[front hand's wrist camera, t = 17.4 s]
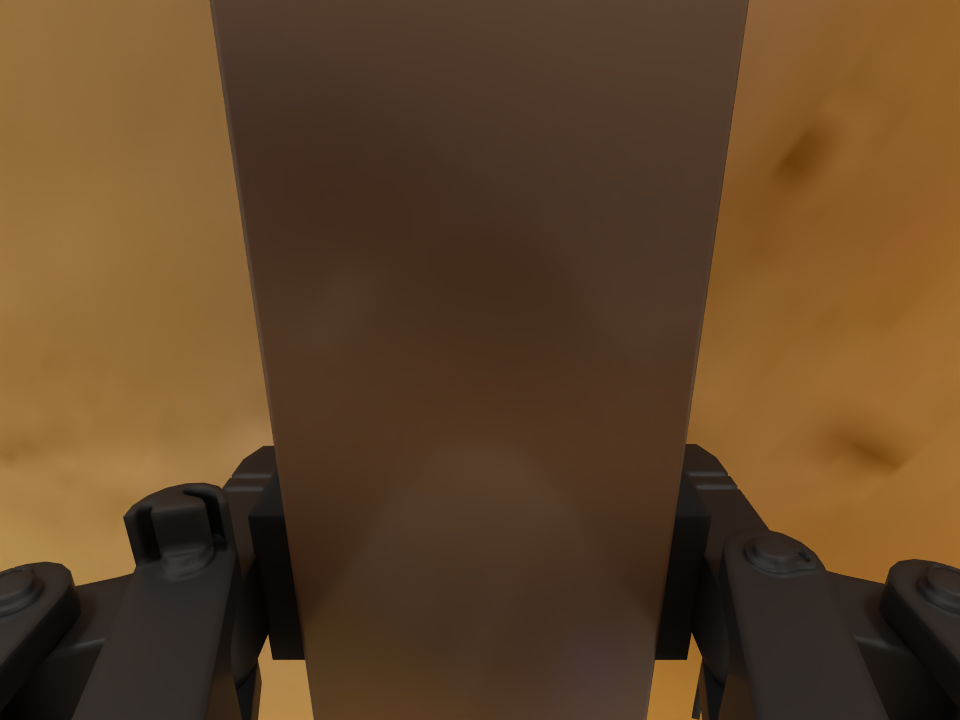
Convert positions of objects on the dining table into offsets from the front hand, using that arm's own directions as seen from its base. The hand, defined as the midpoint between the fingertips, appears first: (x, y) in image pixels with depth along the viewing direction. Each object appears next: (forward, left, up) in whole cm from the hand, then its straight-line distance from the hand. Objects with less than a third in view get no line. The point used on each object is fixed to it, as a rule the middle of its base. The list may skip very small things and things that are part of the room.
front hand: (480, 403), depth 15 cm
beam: (+25, 0, -1) cm, 25 cm away
